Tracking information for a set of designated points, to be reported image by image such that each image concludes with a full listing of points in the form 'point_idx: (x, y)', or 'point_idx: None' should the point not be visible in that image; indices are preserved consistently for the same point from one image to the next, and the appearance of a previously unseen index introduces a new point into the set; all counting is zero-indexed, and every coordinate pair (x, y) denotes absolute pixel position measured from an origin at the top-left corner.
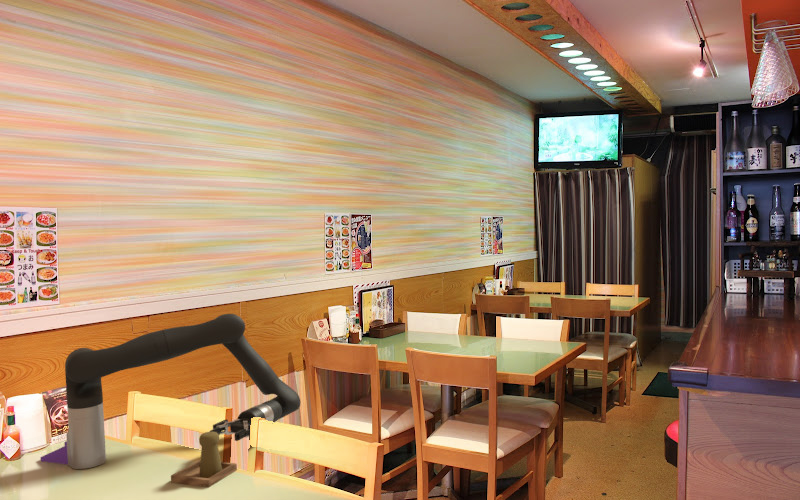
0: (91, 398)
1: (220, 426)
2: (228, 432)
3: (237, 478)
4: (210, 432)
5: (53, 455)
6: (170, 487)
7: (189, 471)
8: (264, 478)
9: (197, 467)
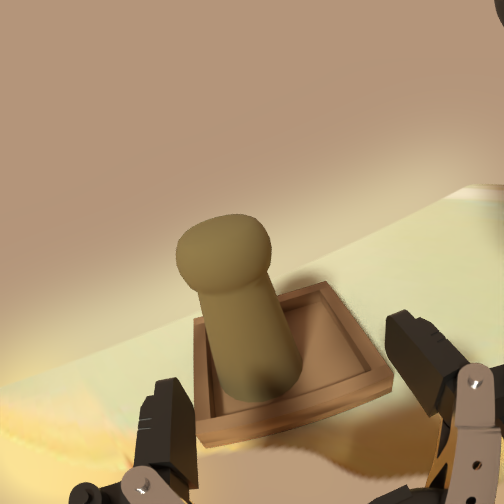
0: None
1: (457, 389)
2: (428, 487)
3: None
4: (210, 225)
5: None
6: None
7: (343, 334)
8: (78, 426)
9: (360, 364)
